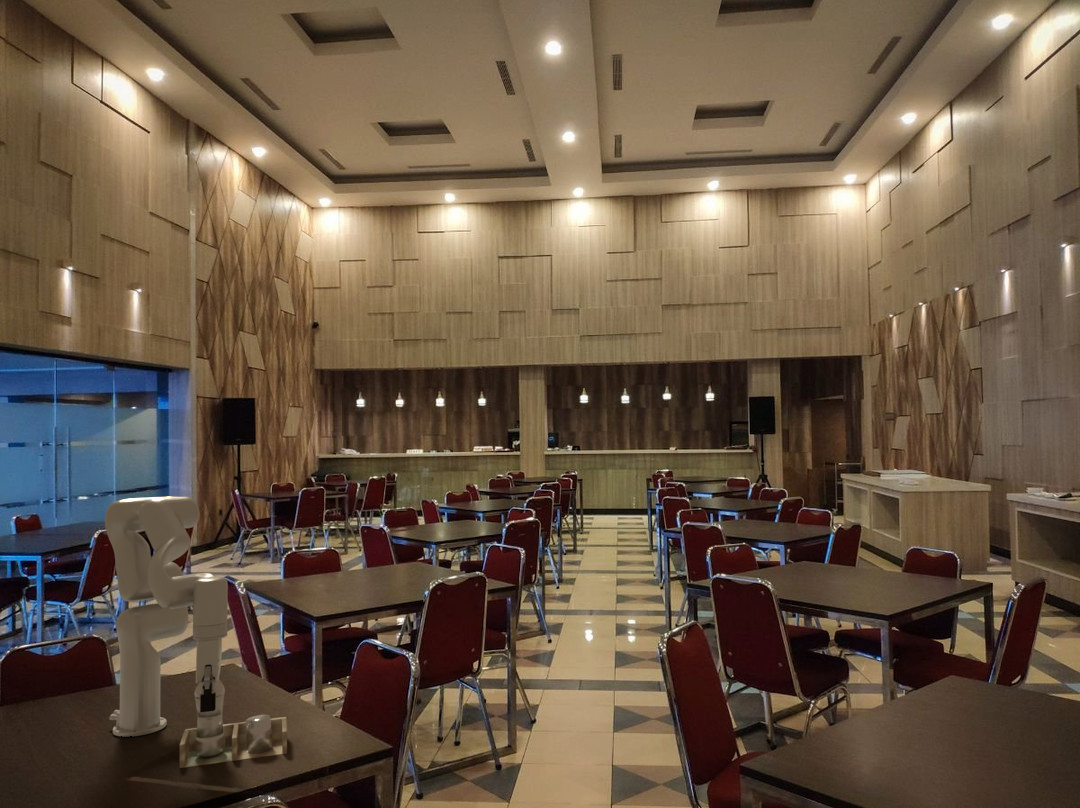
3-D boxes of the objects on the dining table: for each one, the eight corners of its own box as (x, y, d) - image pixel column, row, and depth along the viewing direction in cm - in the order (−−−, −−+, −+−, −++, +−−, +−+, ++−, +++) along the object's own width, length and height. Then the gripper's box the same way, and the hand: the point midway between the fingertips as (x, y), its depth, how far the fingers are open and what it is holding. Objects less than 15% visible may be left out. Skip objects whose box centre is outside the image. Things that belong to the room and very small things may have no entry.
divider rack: (179, 771, 178) (179, 744, 178) (184, 754, 188) (184, 729, 189) (286, 756, 185) (286, 731, 185) (286, 740, 195) (286, 716, 196)
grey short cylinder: (245, 755, 185) (243, 724, 185) (249, 746, 190) (247, 716, 190) (270, 751, 186) (268, 721, 186) (274, 742, 191) (272, 713, 191)
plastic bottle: (225, 757, 183) (225, 669, 184) (193, 762, 180) (194, 673, 182) (225, 748, 189) (225, 663, 190) (194, 752, 186) (194, 666, 188)
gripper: (196, 624, 193) (195, 695, 192) (189, 640, 177) (188, 718, 176) (229, 621, 196) (228, 692, 195) (225, 637, 179) (224, 714, 178)
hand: (209, 704), depth 185 cm, fingers open, 9 cm apart
